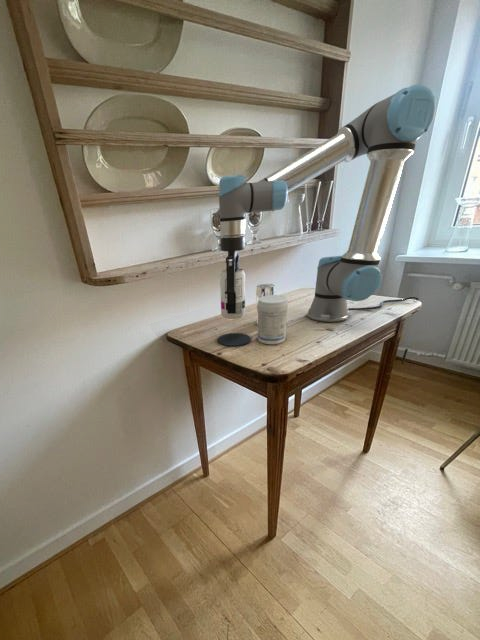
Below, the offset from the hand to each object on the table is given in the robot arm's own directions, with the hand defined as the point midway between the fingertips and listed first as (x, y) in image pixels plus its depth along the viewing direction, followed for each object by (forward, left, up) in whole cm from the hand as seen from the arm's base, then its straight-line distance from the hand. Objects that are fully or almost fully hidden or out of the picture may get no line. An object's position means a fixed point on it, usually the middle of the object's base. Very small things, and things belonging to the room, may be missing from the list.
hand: (233, 309), depth 103 cm
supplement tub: (-11, +8, -12) cm, 18 cm away
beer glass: (-19, -8, -11) cm, 24 cm away
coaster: (0, 0, -11) cm, 11 cm away
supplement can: (0, 0, -2) cm, 2 cm away
